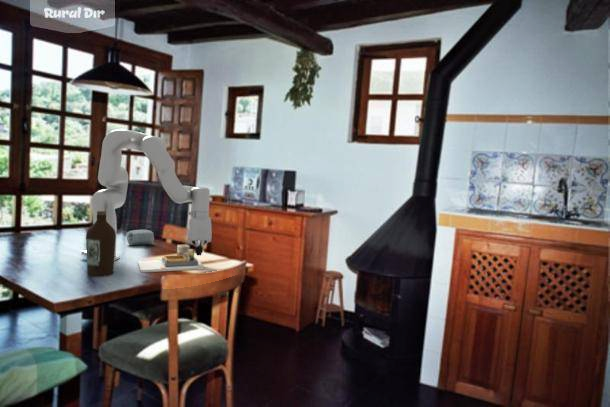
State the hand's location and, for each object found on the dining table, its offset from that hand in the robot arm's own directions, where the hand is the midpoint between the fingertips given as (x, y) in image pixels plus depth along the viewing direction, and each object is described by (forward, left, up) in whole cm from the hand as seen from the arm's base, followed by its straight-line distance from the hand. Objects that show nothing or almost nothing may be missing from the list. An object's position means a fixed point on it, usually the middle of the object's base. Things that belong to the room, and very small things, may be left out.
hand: (198, 254), depth 191 cm
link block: (-4, +15, -5) cm, 16 cm away
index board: (-12, 0, -5) cm, 13 cm away
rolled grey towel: (-20, +50, -5) cm, 54 cm away
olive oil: (-40, -6, -5) cm, 41 cm away
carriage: (-8, 0, -3) cm, 9 cm away
